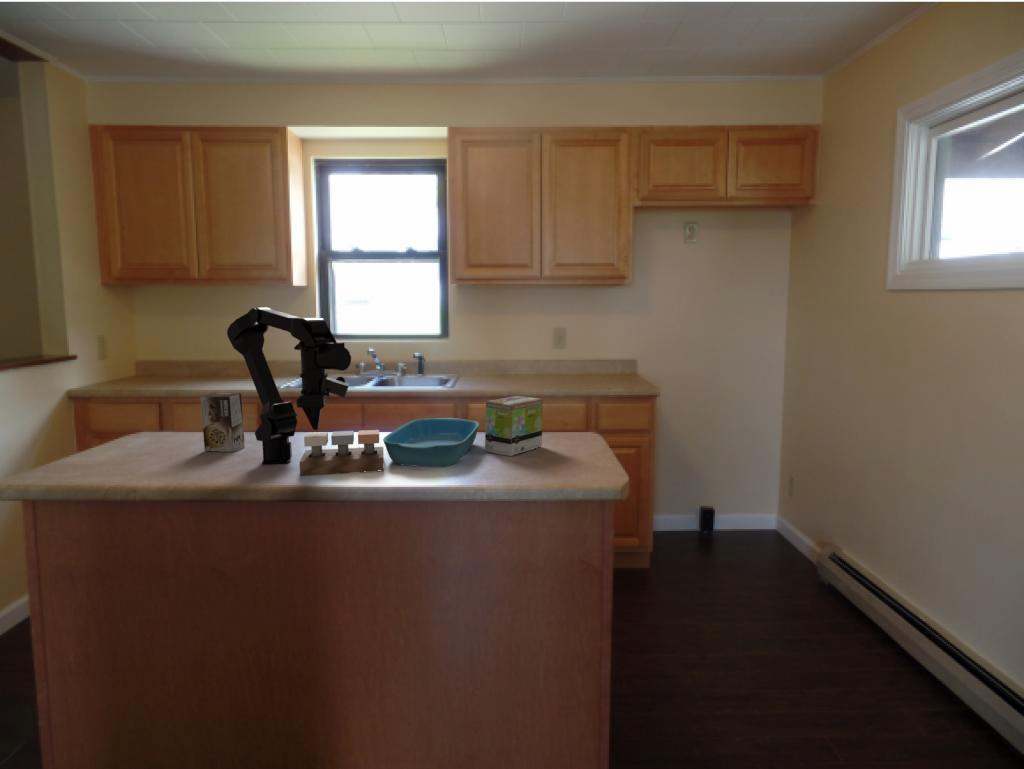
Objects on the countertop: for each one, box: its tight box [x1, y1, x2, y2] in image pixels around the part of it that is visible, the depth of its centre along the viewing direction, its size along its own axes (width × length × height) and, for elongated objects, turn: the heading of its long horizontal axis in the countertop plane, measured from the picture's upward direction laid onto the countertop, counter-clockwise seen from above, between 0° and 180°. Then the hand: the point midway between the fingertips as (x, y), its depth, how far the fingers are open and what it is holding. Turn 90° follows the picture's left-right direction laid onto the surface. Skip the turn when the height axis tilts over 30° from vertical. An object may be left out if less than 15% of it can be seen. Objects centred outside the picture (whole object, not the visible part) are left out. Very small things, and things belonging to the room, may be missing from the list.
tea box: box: [484, 395, 544, 457], centre depth 176 cm, size 15×10×15 cm, turn 143°
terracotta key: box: [357, 429, 380, 455], centre depth 158 cm, size 5×5×6 cm
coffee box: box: [199, 392, 246, 453], centre depth 176 cm, size 9×6×16 cm
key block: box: [299, 446, 384, 476], centre depth 158 cm, size 20×12×4 cm, turn 102°
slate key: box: [330, 430, 355, 456], centre depth 157 cm, size 5×5×6 cm
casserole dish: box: [383, 417, 480, 467], centre depth 172 cm, size 37×22×7 cm, turn 172°
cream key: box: [303, 431, 329, 457], centre depth 156 cm, size 5×5×6 cm
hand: (315, 429), depth 155 cm, fingers closed
